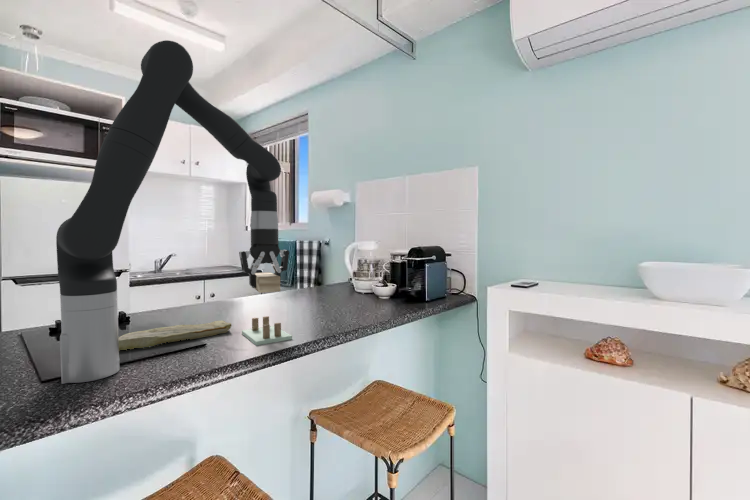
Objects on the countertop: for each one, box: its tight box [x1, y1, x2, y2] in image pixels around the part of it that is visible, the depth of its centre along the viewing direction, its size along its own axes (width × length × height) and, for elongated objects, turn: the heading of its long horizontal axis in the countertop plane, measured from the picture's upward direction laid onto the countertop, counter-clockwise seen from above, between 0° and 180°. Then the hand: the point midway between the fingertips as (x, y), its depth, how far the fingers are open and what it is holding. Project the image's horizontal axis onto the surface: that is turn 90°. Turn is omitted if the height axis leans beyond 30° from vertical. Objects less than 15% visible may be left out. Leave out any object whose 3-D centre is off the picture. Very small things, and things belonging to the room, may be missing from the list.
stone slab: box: [118, 320, 232, 352], centre depth 103 cm, size 12×4×30 cm
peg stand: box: [241, 315, 293, 346], centre depth 104 cm, size 14×10×4 cm
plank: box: [253, 271, 281, 294], centre depth 103 cm, size 14×6×4 cm, turn 27°
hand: (265, 286), depth 103 cm, fingers closed on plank, 6 cm apart
